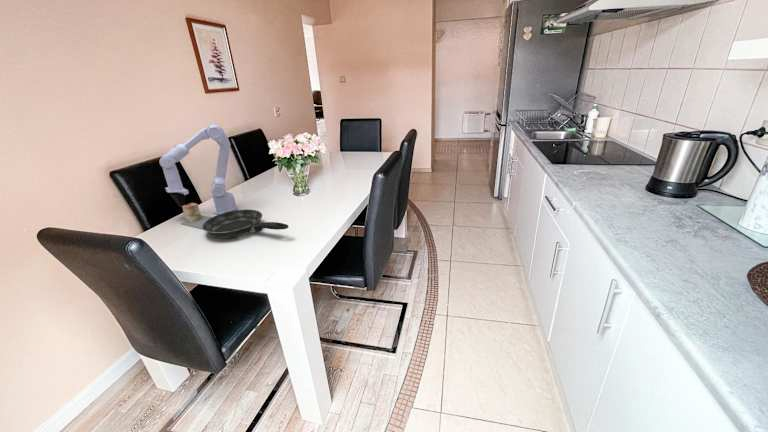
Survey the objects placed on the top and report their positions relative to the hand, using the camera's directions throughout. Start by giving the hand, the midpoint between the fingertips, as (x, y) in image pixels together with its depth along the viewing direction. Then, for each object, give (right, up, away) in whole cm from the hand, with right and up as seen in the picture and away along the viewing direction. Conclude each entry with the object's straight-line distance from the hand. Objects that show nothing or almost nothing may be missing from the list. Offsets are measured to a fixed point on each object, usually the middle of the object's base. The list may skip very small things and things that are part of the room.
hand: (182, 206), depth 155 cm
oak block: (+6, -7, -1) cm, 9 cm away
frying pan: (+38, -12, -13) cm, 42 cm away
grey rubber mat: (+12, -8, -3) cm, 14 cm away
